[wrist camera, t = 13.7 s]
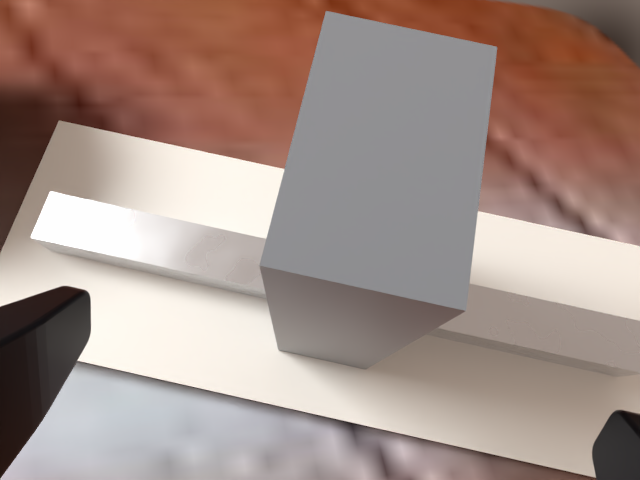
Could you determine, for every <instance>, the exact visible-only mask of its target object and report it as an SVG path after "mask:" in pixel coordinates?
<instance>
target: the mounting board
mask: <svg viewBox="0 0 640 480" xmlns="http://www.w3.org/2000/svg"><path fill="white" fill-rule="evenodd" d="M284 170H285V169H281V168H276V167H272V166H267V165H262V164H258V163H253V162H249V161H244V160H239V159H235V158H230V157H225V156H221V155H216V154H212V153H207V152H202V151H198V150H193V149H189V148H184V147H179V146H175V145H170V144H165V143H161V142H156V141H152V140H147V139H142V138H138V137H133V136H129V135H124V134H119V133H115V132H110V131H106V130H101V129H96V128H92V127H87V126H82V125H78V124H73V123H69V122H64V121H58V124H57V126H56V128H55V130H54V133H53V135H52V137H51V139H50V142H49V144H48V146H47V149H46V151H45V153H44V155H43V158H42V160H41V162H40V164H39V167H38V169H37V171H36V173H35V176H34V178H33V180H32V182H31V185H30V187H29V189H28V191H27V194H26V196H25V198H24V200H23V203H22V205H21V207H20V210H19V212H18V214H17V216H16V219H15V221H14V223H13V225H12V228H11V230H10V232H9V234H8V237H7V239H6V241H5V243H4V246H3V248H2V250H1V252H0V306H3V305H6V304H9V303H12V302H15V301H18V300H21V299H24V298H27V297H30V296H33V295H36V294H39V293H42V292H45V291H48V290H51V289H54V288H57V287H60V286H71V287H75V288H80V289H84V290H86V291H88V292H89V294H90V298H91V334H90V338H89V340H88V343H87V345H86V346H85V348H84V350H83V352H82V353H81V355H80V357H79V359H78V360H77V361H81V362H85V363H90V364H94V365H99V366H103V367H107V368H112V369H116V370H121V371H125V372H130V373H134V374H138V375H143V376H147V377H152V378H156V379H161V380H165V381H169V382H174V383H178V384H183V385H187V386H192V387H196V388H200V389H205V390H209V391H214V392H218V393H223V394H227V395H231V396H236V397H240V398H245V399H249V400H254V401H258V402H262V403H267V404H271V405H276V406H280V407H285V408H289V409H293V410H298V411H302V412H307V413H311V414H316V415H320V416H324V417H329V418H333V419H338V420H342V421H347V422H351V423H355V424H360V425H364V426H369V427H373V428H378V429H382V430H387V431H391V432H395V433H400V434H404V435H409V436H413V437H418V438H422V439H426V440H431V441H435V442H440V443H444V444H449V445H453V446H457V447H462V448H466V449H471V450H475V451H480V452H484V453H488V454H493V455H497V456H502V457H506V458H511V459H515V460H519V461H524V462H528V463H533V464H537V465H542V466H546V467H550V468H555V469H559V470H564V471H568V472H573V473H577V474H581V475H586V476H590V477H595V478H596V475H595V470H594V465H593V460H592V448H593V444H594V442H595V440H596V438H597V437H598V435H599V433H600V432H601V430H602V428H603V427H604V425H605V423H606V422H607V420H608V418H609V417H610V415H611V414H612V413H613V412H614V411H616V410H625V411H630V412H634V413H639V414H640V374H639V375H630V376H621V377H615V376H610V375H606V374H601V373H597V372H592V371H588V370H583V369H579V368H574V367H570V366H565V365H561V364H556V363H552V362H547V361H543V360H538V359H534V358H529V357H525V356H520V355H516V354H511V353H507V352H502V351H498V350H493V349H489V348H484V347H480V346H475V345H471V344H466V343H461V342H457V341H452V340H448V339H443V338H439V337H434V336H430V335H424V336H422V337H420V338H419V339H417V340H415V341H414V342H412V343H410V344H408V345H407V346H405V347H403V348H402V349H400V350H398V351H396V352H395V353H393V354H391V355H390V356H388V357H386V358H384V359H383V360H381V361H379V362H378V363H376V364H374V365H372V366H371V367H369V368H367V369H366V370H365V369H361V368H356V367H352V366H347V365H343V364H338V363H334V362H329V361H325V360H320V359H316V358H311V357H307V356H302V355H298V354H293V353H289V352H284V351H280V350H278V347H277V343H276V338H275V334H274V329H273V325H272V320H271V316H270V311H269V307H268V302H267V299H263V298H259V297H254V296H250V295H245V294H241V293H236V292H232V291H227V290H223V289H218V288H214V287H209V286H205V285H200V284H196V283H191V282H186V281H182V280H177V279H173V278H168V277H164V276H159V275H155V274H150V273H146V272H141V271H137V270H132V269H128V268H123V267H119V266H114V265H110V264H105V263H101V262H96V261H92V260H87V259H83V258H78V257H74V256H69V255H65V254H60V253H56V252H51V251H50V250H48V249H47V248H45V247H44V246H42V245H41V244H39V243H38V242H36V241H35V240H33V239H32V238H31V236H32V233H33V231H34V228H35V226H36V224H37V221H38V219H39V217H40V214H41V212H42V210H43V207H44V205H45V203H46V200H47V198H48V196H49V193H50V191H51V192H55V193H60V194H65V195H69V196H74V197H78V198H83V199H87V200H92V201H96V202H101V203H106V204H110V205H115V206H119V207H124V208H128V209H133V210H137V211H142V212H147V213H151V214H156V215H160V216H165V217H169V218H174V219H178V220H183V221H188V222H192V223H197V224H201V225H206V226H210V227H215V228H219V229H224V230H229V231H233V232H238V233H242V234H247V235H251V236H256V237H260V238H265V239H266V238H267V234H268V231H269V227H270V223H271V219H272V215H273V211H274V208H275V204H276V200H277V196H278V192H279V189H280V185H281V181H282V177H283V173H284ZM469 283H470V284H474V285H479V286H484V287H488V288H493V289H497V290H502V291H506V292H511V293H515V294H520V295H525V296H529V297H534V298H538V299H543V300H547V301H552V302H556V303H561V304H566V305H570V306H575V307H579V308H584V309H588V310H593V311H597V312H602V313H607V314H611V315H616V316H620V317H625V318H629V319H634V320H638V321H640V246H636V245H631V244H627V243H622V242H617V241H613V240H608V239H604V238H599V237H594V236H590V235H585V234H581V233H576V232H571V231H567V230H562V229H558V228H553V227H548V226H544V225H539V224H534V223H530V222H525V221H521V220H516V219H511V218H507V217H502V216H498V215H493V214H488V213H484V212H479V211H478V215H477V223H476V231H475V240H474V248H473V257H472V265H471V274H470V282H469Z"/></svg>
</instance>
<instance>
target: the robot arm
mask: <svg viewBox="0 0 640 480" xmlns="http://www.w3.org/2000/svg"><path fill="white" fill-rule="evenodd" d="M90 334H91V298H90V294H89V292H88V291H86V290H84V289H80V288H75V287H71V286H60V287H57V288H54V289H51V290H48V291H45V292H42V293H39V294H36V295H33V296H30V297H27V298H24V299H21V300H18V301H15V302H12V303H9V304H6V305H3V306H0V478H1V477H2V475H3V474H4V473H5V471H6V470H7V469H8V467H9V466H10V465H11V463H12V462H13V460H14V459H15V458H16V456H17V455H18V454H19V452H20V451H21V449H22V448H23V447H24V445H25V444H26V443H27V441H28V440H29V439H30V437H31V436H32V434H33V433H34V432H35V430H36V429H37V427H38V426H39V424H40V423H41V422H42V420H43V419H44V417H45V415H46V414H47V412H48V410H49V409H50V407H51V405H52V404H53V402H54V400H55V398H56V397H57V395H58V393H59V392H60V390H61V388H62V386H63V385H64V383H65V381H66V379H67V378H68V376H69V374H70V372H71V371H72V369H73V367H74V366H75V364H76V362H77V360H78V359H79V357H80V355H81V353H82V352H83V350H84V348H85V346H86V345H87V343H88V340H89V338H90ZM592 460H593V465H594V470H595V475H596V480H640V414H639V413H634V412H630V411H625V410H616V411H614V412H613V413H612V414H611V415H610V417H609V418H608V420H607V422H606V423H605V425H604V427H603V428H602V430H601V432H600V433H599V435H598V437H597V438H596V440H595V442H594V444H593V448H592Z"/></svg>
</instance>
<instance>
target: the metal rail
mask: <svg viewBox="0 0 640 480" xmlns="http://www.w3.org/2000/svg"><path fill="white" fill-rule="evenodd" d="M31 238H32V239H33V240H35V241H36V242H38V243H39V244H41V245H42V246H44V247H45V248H47V249H48V250H50V251H51V252H56V253H60V254H65V255H69V256H74V257H78V258H83V259H87V260H92V261H96V262H101V263H105V264H110V265H114V266H119V267H123V268H128V269H132V270H137V271H141V272H146V273H150V274H155V275H159V276H164V277H168V278H173V279H177V280H182V281H186V282H191V283H196V284H200V285H205V286H209V287H214V288H218V289H223V290H227V291H232V292H236V293H241V294H245V295H250V296H254V297H259V298H263V299H267V298H266V293H265V289H264V284H263V280H262V275H261V271H260V266H259V265H260V261H261V257H262V253H263V250H264V246H265V242H266V239H265V238H260V237H256V236H251V235H247V234H242V233H238V232H233V231H229V230H224V229H219V228H215V227H210V226H206V225H201V224H197V223H192V222H188V221H183V220H178V219H174V218H169V217H165V216H160V215H156V214H151V213H147V212H142V211H137V210H133V209H128V208H124V207H119V206H115V205H110V204H106V203H101V202H96V201H92V200H87V199H83V198H78V197H74V196H69V195H65V194H60V193H55V192H51V191H50V193H49V196H48V198H47V200H46V203H45V205H44V207H43V210H42V212H41V214H40V217H39V219H38V221H37V224H36V226H35V228H34V231H33V233H32V236H31ZM426 335H430V336H434V337H439V338H443V339H448V340H452V341H457V342H461V343H466V344H471V345H475V346H480V347H484V348H489V349H493V350H498V351H502V352H507V353H511V354H516V355H520V356H525V357H529V358H534V359H538V360H543V361H547V362H552V363H556V364H561V365H565V366H570V367H574V368H579V369H583V370H588V371H592V372H597V373H601V374H606V375H610V376H615V377H621V376H630V375H639V374H640V321H638V320H634V319H629V318H625V317H620V316H616V315H611V314H607V313H602V312H597V311H593V310H588V309H584V308H579V307H575V306H570V305H566V304H561V303H556V302H552V301H547V300H543V299H538V298H534V297H529V296H525V295H520V294H515V293H511V292H506V291H502V290H497V289H493V288H488V287H484V286H479V285H474V284H470V283H469V291H468V299H467V308H466V311H465V312H463V313H462V314H460V315H458V316H457V317H455V318H453V319H451V320H450V321H448V322H446V323H445V324H443V325H441V326H439V327H438V328H436V329H434V330H432V331H431V332H429V333H427V334H426Z"/></svg>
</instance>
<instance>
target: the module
mask: <svg viewBox="0 0 640 480" xmlns="http://www.w3.org/2000/svg"><path fill="white" fill-rule="evenodd" d="M496 54H497V47H495V46H491V45H486V44H481V43H476V42H471V41H467V40H462V39H457V38H452V37H448V36H443V35H438V34H433V33H429V32H424V31H419V30H414V29H409V28H405V27H400V26H395V25H390V24H386V23H381V22H376V21H371V20H367V19H362V18H357V17H352V16H347V15H343V14H338V13H333V12H328V11H326V13H325V17H324V21H323V24H322V28H321V32H320V36H319V40H318V44H317V47H316V51H315V55H314V59H313V63H312V66H311V70H310V74H309V78H308V82H307V86H306V89H305V93H304V97H303V101H302V105H301V108H300V112H299V116H298V120H297V124H296V128H295V131H294V135H293V139H292V143H291V147H290V150H289V154H288V158H287V162H286V166H285V170H284V173H283V177H282V181H281V185H280V189H279V192H278V196H277V200H276V204H275V208H274V211H273V215H272V219H271V223H270V227H269V231H268V234H267V238H266V242H265V246H264V250H263V253H262V257H261V261H260V265H259V266H260V271H261V275H262V280H263V284H264V289H265V293H266V298H267V302H268V307H269V311H270V316H271V320H272V325H273V329H274V334H275V338H276V343H277V347H278V350H280V351H284V352H289V353H293V354H298V355H302V356H307V357H311V358H316V359H320V360H325V361H329V362H334V363H338V364H343V365H347V366H352V367H356V368H361V369H365V370H366V369H367V368H369V367H371V366H372V365H374V364H376V363H378V362H379V361H381V360H383V359H384V358H386V357H388V356H390V355H391V354H393V353H395V352H396V351H398V350H400V349H402V348H403V347H405V346H407V345H408V344H410V343H412V342H414V341H415V340H417V339H419V338H420V337H422V336H424V335H426V334H427V333H429V332H431V331H432V330H434V329H436V328H438V327H439V326H441V325H443V324H445V323H446V322H448V321H450V320H451V319H453V318H455V317H457V316H458V315H460V314H462V313H463V312H465V311H466V308H467V299H468V291H469V282H470V274H471V265H472V257H473V248H474V240H475V231H476V223H477V215H478V206H479V198H480V189H481V181H482V172H483V164H484V155H485V147H486V138H487V130H488V121H489V113H490V104H491V96H492V88H493V79H494V71H495V62H496Z"/></svg>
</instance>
